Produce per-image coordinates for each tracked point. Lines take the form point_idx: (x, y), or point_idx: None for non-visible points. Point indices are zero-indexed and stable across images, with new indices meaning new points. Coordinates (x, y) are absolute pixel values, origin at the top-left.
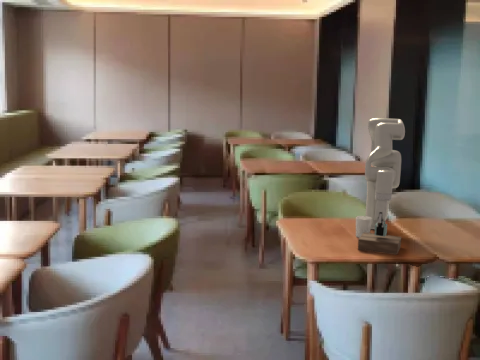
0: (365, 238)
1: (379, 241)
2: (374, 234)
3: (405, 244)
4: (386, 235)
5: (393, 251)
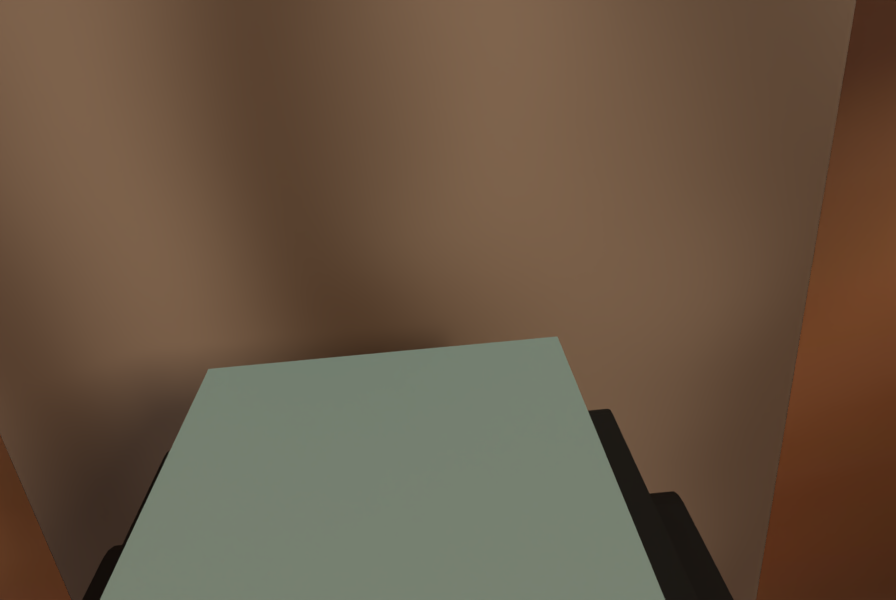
0: (61, 86)
1: (60, 483)
2: (203, 385)
3: (845, 571)
4: (732, 484)
5: None
